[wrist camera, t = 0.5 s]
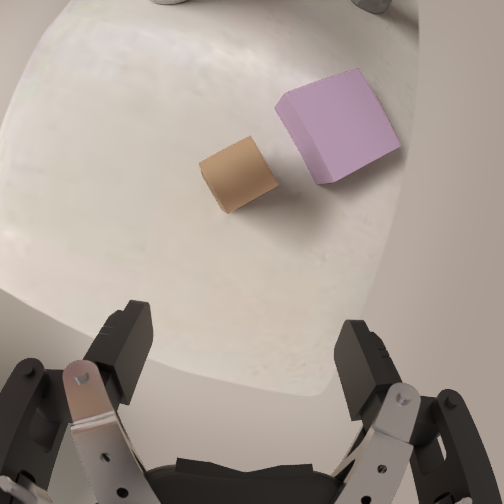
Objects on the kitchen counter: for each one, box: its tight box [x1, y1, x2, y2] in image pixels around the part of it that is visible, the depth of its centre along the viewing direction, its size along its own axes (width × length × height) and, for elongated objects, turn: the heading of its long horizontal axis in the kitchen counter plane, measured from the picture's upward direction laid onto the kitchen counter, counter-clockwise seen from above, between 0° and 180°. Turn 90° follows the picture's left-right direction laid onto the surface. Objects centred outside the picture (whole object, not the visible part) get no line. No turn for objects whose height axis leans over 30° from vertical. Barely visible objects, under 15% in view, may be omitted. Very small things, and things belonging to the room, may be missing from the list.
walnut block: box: [199, 136, 279, 214], centre depth 28 cm, size 5×5×12 cm
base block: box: [274, 68, 401, 184], centre depth 32 cm, size 12×12×6 cm
